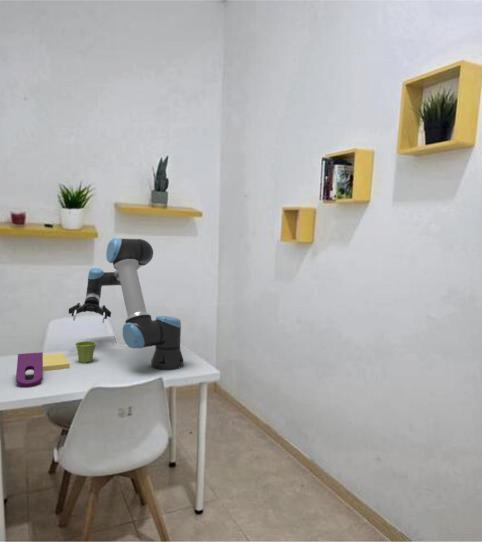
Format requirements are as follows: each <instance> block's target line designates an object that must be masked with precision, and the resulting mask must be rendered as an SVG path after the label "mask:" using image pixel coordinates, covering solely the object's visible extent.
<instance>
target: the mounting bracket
mask: <svg viewBox="0 0 482 542" xmlns="http://www.w3.org/2000/svg"><path fill="white" fill-rule="evenodd" d="M43 353H44V352H42V351H40V352H30V353H29V352H27V353H17V362H16V363H17V364H16V374H15V381H16V384H17V385H18V386H20V387H22V388H29V387H31V388H32V387H35V386H37V385H39V384H41V382H42V380H43V376H44V375H43V373H44V371H43V355H44V354H43ZM29 370H30V371H33V378H32V379H29V380H27V379H26V373H27V371H29Z"/></svg>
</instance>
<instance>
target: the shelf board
mask: <svg viewBox="0 0 482 542" xmlns="http://www.w3.org/2000/svg"><path fill="white" fill-rule="evenodd" d="M70 364H71V363H70V362H69V360H68V359H67V357H66V356H65V354H64V352H57V353H47V354H43V372H46V371H54V370H64V368H65V369H70V367H71V365H70Z"/></svg>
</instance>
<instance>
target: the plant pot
mask: <svg viewBox="0 0 482 542" xmlns="http://www.w3.org/2000/svg"><path fill="white" fill-rule="evenodd" d="M96 345H97V342H96V341H88V340H85V341H79V342H75V347H76V351H77V356H78V358H77V359H78V362H79V363H83V364H87V363H91V362H93V358H94V353H95V352H94V351H95V348H96Z"/></svg>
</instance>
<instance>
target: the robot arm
mask: <svg viewBox="0 0 482 542" xmlns="http://www.w3.org/2000/svg"><path fill="white" fill-rule="evenodd" d="M105 255H106V261H107V262H108V263H110V264H112V265H113V269H114V270H115V271H113V272H111V271H110V272H109V271H106V272H104V270H103V269H101V268H99V267H93V268H91V269H89V271H88V275H87V284H86V285H87V286H86V293H85V298H84V299H85V300H84V303H83V304H81V303H80V302H78V303H77V304H75V305H73V306H72V307H70V308H68V314H69V315H71V317H72V321H74V322H75V321H76V318H77V314H80V313H86V312H90V313H93V312H94V313H96V314H98V315H100V316H102V324H103V323H105V320H107V319H108V318H111V317H112V312H111V311H110V310H109V309H108V308H107V307H106V305H104V304H103V305H101V306H100V303H101V302H100V300H101V296H102V287H105V286H106V287H107V286H120V287H121V291H122V296H123V301H124V307H125V310H126V314H127V318H126V319H125V321H124V322H125V323H124V324H123V326H122V337H123V340H124V342H125V344H126V346H128V347H129V348H131V349H143V348H148V347H154V346H155V350H154V351H153V355H152V358H151V360H150V361H151V364H150V365H151V367H152V368H154V369H157V370H163V371H164V370H167V371H168V370H177V369H180V368H182V367H183V366H184V357H183V354H182V351H181V337H182V336H181V334H182V323H181V320H180V318H177V317H173V316H168V315H157V316H156V317H155V319H154V320H153V319H152V316H151V315H152V314H150V313H148V312H147V308H146V305H145V304H146V303H145V299H144V296H143V292H142V287H141V283H140V279H139V274H138V273H139V272H138V270H139V269H140V268H141V267H142V266H143V267H144V266H146V265H148V264H149V263H150V262H151V261H152V259H153V257H154V249H153V246H152V245H151V244H150V242H149V241H147V240H145V239H142V238H121V237H119V238H112V239H110V241H109V242H108V244H107V248H106V254H105ZM181 366H182V367H181ZM179 367H180V368H179ZM176 368H177V369H176Z"/></svg>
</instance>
